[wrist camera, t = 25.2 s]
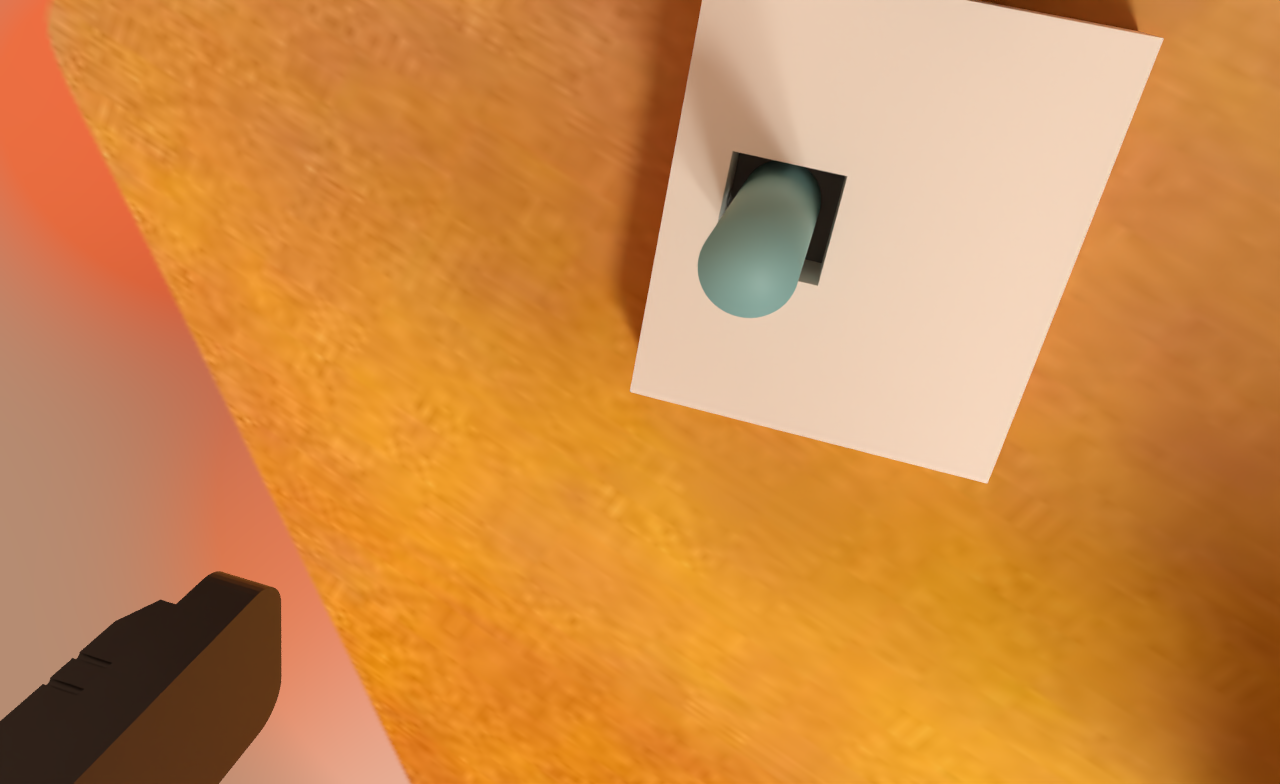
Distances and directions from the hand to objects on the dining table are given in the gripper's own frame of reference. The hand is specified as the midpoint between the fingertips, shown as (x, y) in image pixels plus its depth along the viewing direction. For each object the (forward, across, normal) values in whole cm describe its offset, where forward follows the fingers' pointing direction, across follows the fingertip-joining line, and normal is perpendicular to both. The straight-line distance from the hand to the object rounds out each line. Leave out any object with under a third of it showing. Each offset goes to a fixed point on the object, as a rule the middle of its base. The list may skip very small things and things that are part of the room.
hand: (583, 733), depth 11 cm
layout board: (+28, +3, 0) cm, 28 cm away
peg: (+28, 0, 0) cm, 28 cm away
